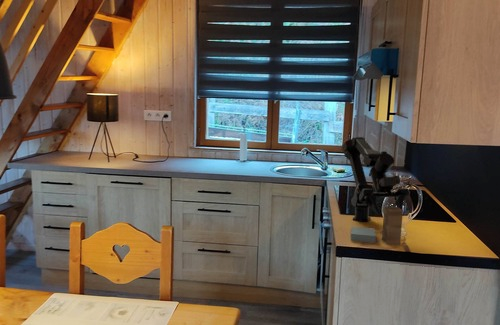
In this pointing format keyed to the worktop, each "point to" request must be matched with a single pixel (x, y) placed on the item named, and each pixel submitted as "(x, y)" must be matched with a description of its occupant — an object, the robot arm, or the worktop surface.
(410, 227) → the worktop surface
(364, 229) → the base block
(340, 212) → the worktop surface
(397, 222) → the walnut pillar
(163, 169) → the worktop surface
